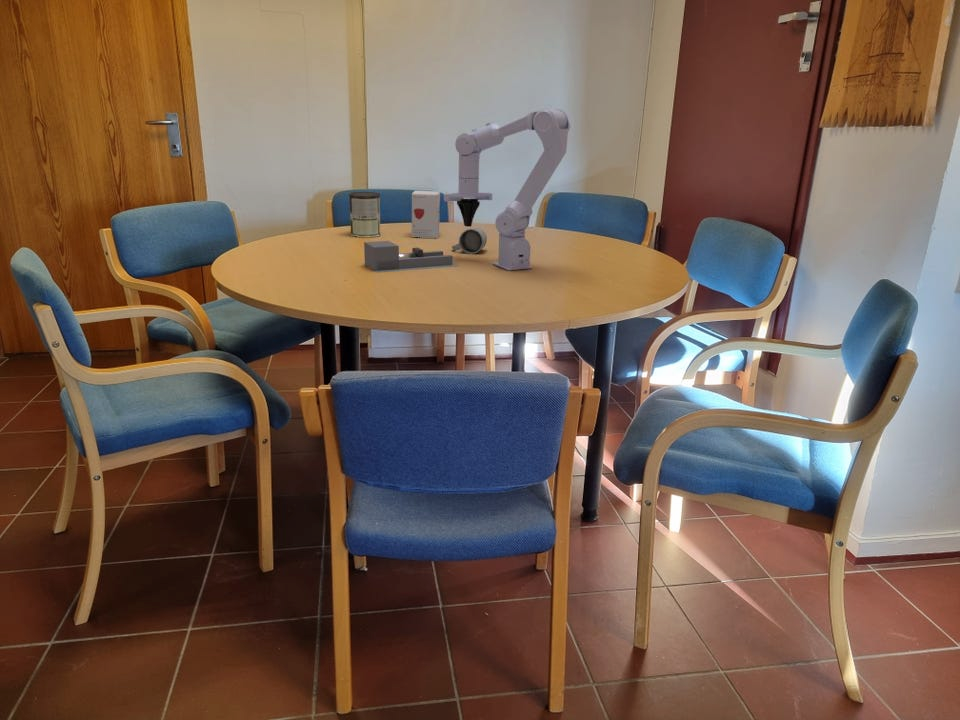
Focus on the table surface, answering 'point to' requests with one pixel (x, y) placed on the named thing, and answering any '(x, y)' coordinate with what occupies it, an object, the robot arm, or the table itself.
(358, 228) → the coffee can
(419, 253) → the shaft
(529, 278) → the table surface
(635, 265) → the table surface
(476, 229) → the ceramic mug
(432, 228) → the supplement box
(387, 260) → the grey slotted fixture
